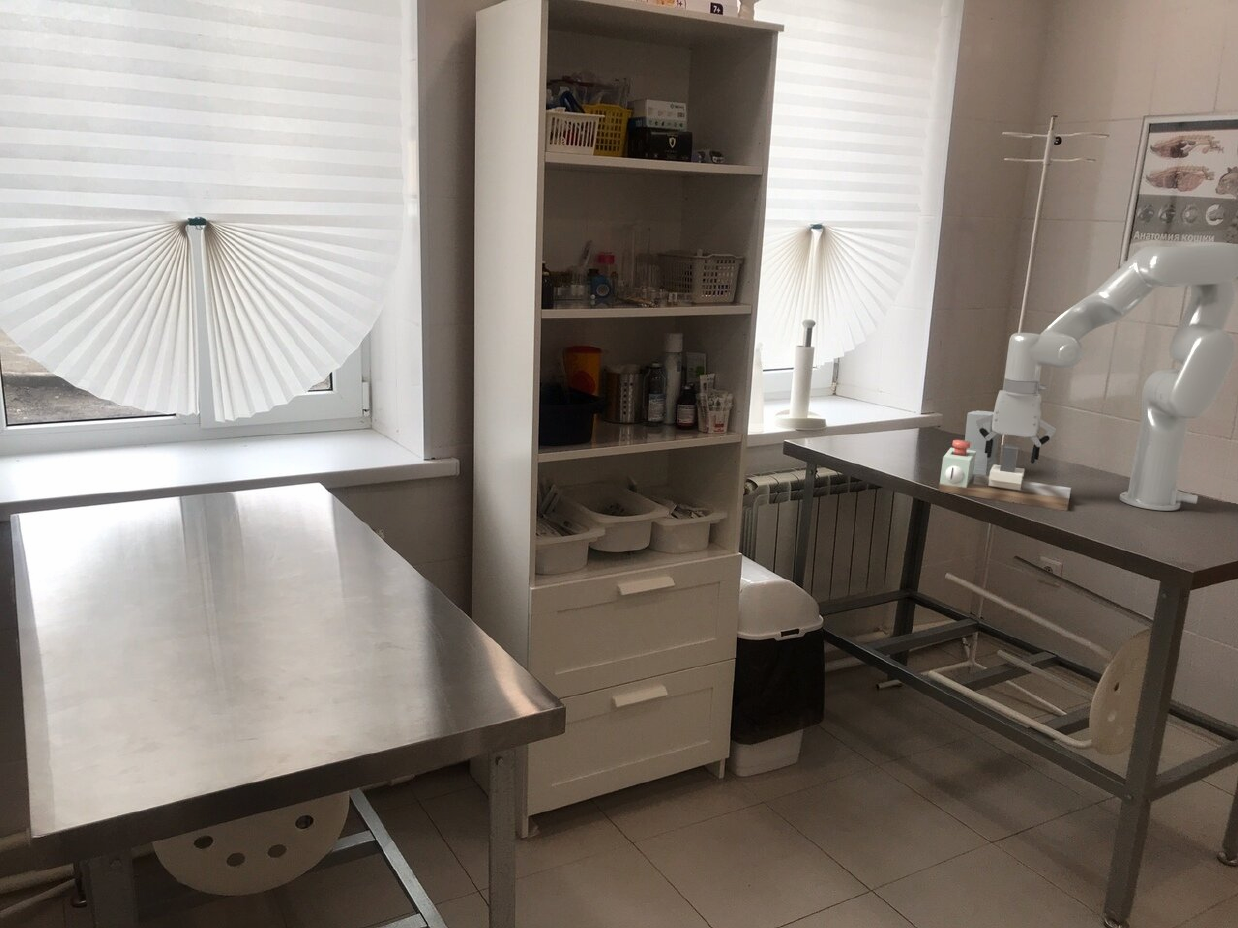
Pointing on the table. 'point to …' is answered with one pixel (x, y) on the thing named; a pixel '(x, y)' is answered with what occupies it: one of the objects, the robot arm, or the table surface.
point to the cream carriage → (1007, 470)
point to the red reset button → (960, 447)
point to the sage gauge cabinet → (957, 468)
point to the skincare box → (981, 442)
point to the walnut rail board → (1015, 493)
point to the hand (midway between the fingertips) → (1010, 459)
